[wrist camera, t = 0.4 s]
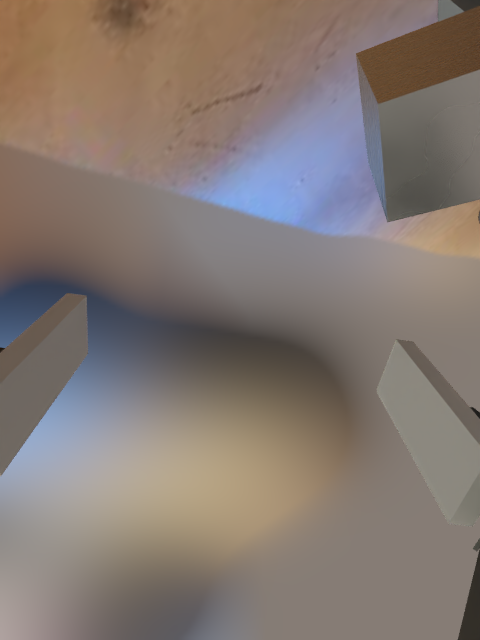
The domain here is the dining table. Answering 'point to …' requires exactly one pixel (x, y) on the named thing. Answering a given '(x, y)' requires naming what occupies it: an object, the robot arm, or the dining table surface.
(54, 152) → the dining table surface
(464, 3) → the short stand
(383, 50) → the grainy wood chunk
